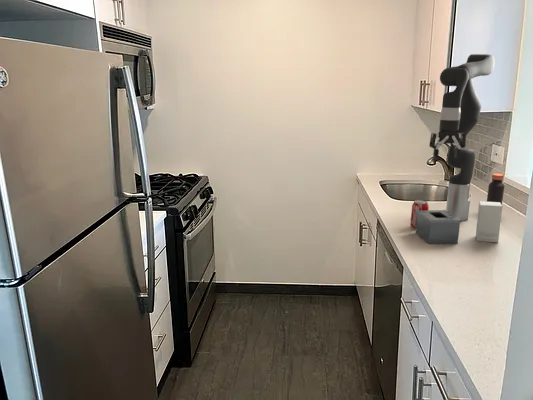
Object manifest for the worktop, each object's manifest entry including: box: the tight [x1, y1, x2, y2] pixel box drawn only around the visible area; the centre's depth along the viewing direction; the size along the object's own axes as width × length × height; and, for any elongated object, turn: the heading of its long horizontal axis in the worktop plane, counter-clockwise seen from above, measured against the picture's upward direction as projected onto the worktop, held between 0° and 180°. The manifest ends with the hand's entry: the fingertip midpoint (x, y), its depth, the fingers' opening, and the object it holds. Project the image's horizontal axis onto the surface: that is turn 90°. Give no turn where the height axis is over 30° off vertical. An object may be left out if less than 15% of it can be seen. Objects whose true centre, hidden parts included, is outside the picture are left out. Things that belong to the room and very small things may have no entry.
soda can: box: [410, 199, 430, 230], centre depth 204 cm, size 7×7×12 cm
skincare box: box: [475, 200, 503, 243], centre depth 189 cm, size 8×7×16 cm
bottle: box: [486, 173, 505, 206], centre depth 223 cm, size 7×7×20 cm
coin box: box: [415, 209, 461, 245], centre depth 191 cm, size 12×14×10 cm
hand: (446, 157), depth 193 cm, fingers open, 8 cm apart
